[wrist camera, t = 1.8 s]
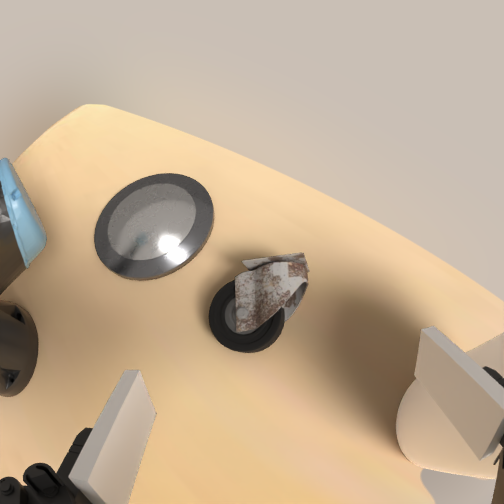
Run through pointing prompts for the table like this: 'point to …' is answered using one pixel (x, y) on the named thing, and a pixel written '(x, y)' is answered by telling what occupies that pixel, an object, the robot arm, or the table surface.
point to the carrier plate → (154, 226)
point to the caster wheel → (258, 302)
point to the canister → (445, 425)
